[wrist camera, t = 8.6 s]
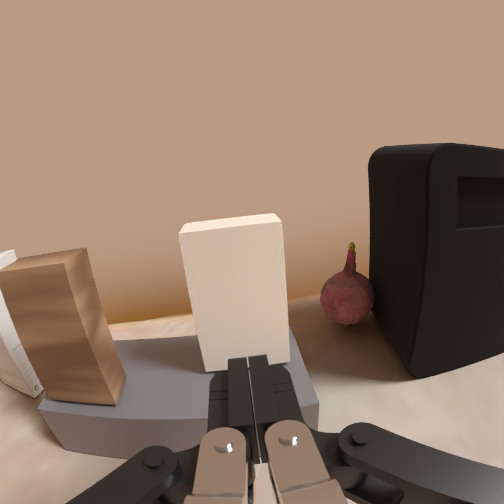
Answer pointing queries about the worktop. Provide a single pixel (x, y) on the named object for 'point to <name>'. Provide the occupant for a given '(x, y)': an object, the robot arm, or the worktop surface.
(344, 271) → the vegetable
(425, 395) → the worktop surface
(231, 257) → the wooden block
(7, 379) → the skincare box
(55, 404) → the keypad base
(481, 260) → the air purifier
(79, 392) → the walnut key
